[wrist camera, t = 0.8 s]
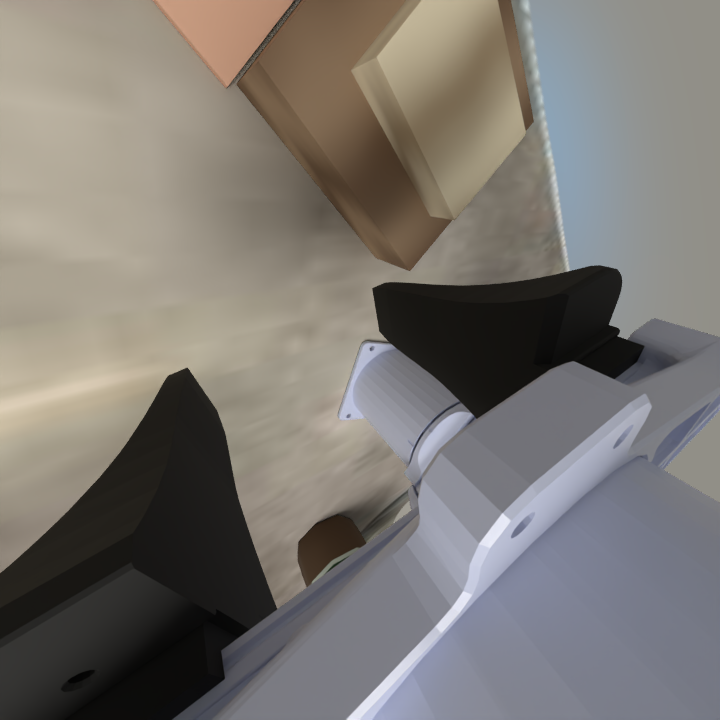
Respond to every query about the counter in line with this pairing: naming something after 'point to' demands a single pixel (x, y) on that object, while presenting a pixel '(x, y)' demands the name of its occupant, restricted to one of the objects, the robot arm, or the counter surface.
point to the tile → (444, 97)
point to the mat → (224, 29)
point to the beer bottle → (327, 546)
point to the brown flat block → (350, 120)
